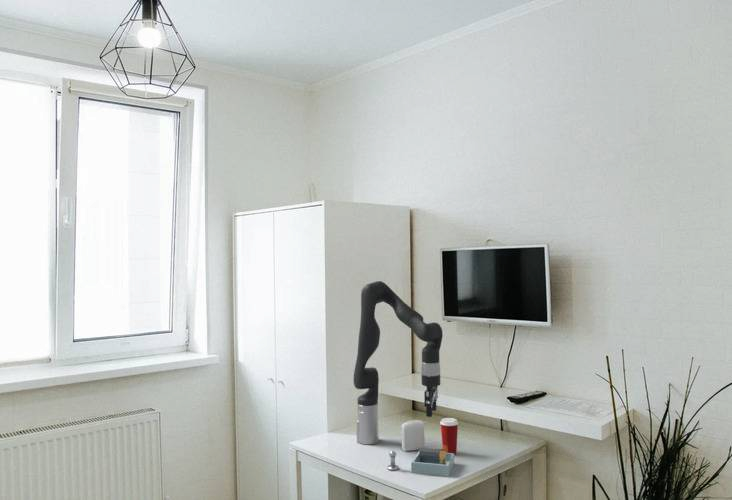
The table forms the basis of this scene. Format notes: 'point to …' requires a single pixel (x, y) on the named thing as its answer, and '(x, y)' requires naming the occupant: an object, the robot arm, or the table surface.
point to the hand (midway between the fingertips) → (431, 413)
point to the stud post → (392, 462)
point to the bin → (433, 466)
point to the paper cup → (449, 434)
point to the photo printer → (412, 435)
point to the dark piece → (432, 456)
